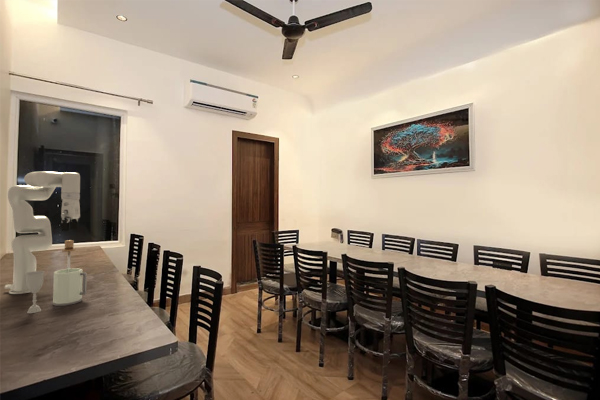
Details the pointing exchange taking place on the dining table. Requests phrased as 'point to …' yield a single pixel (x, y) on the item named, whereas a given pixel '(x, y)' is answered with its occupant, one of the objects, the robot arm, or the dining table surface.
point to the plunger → (68, 247)
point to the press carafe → (68, 286)
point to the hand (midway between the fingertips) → (70, 230)
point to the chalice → (34, 287)
